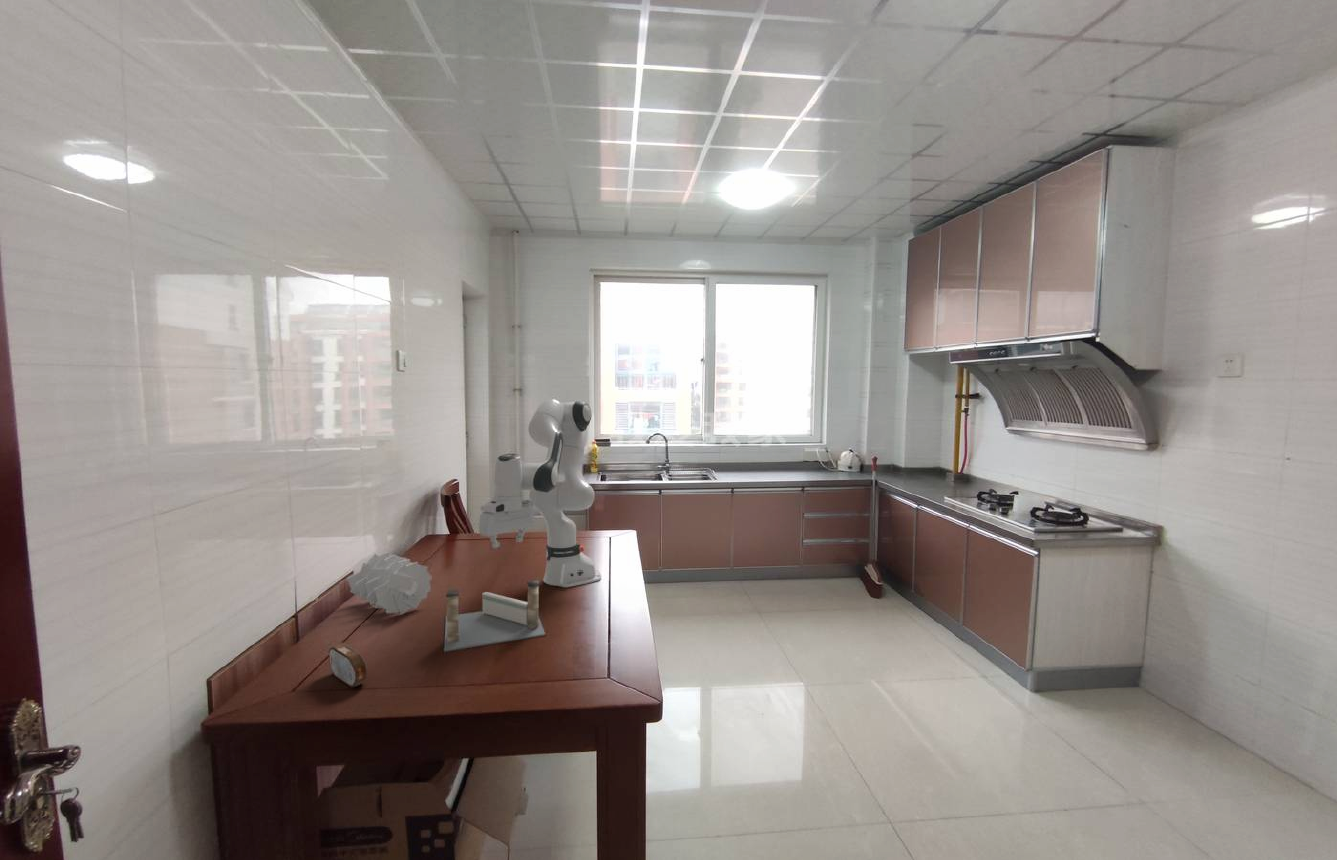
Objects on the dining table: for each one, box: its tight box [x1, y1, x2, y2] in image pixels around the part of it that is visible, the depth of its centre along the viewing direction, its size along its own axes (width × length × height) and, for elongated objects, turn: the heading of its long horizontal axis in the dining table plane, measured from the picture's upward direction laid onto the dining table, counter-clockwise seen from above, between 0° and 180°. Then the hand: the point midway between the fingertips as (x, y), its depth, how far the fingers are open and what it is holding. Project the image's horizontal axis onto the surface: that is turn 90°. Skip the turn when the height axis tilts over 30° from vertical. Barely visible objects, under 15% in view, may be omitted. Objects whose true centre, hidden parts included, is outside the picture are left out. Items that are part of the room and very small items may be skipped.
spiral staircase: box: [346, 551, 433, 616], centre depth 173 cm, size 18×18×25 cm
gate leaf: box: [481, 591, 528, 625], centre depth 164 cm, size 19×2×6 cm, turn 63°
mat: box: [443, 610, 546, 653], centre depth 160 cm, size 28×24×1 cm
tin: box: [328, 642, 368, 688], centre depth 128 cm, size 15×3×8 cm, turn 56°
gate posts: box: [445, 579, 540, 643], centre depth 154 cm, size 26×4×15 cm, turn 113°
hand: (507, 544), depth 169 cm, fingers open, 8 cm apart
